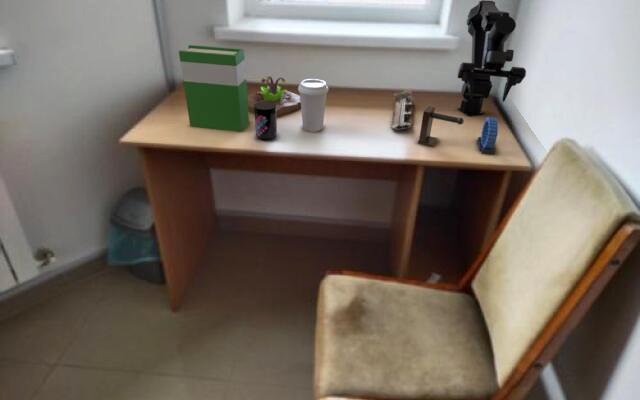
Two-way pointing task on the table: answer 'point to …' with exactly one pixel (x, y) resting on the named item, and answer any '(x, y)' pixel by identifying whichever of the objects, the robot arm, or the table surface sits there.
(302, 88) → the coffee cup
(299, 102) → the plant
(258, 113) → the supplement container
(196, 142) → the table surface
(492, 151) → the tape cradle
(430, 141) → the hook stand
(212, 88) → the hardback book
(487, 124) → the blue ridged ring
